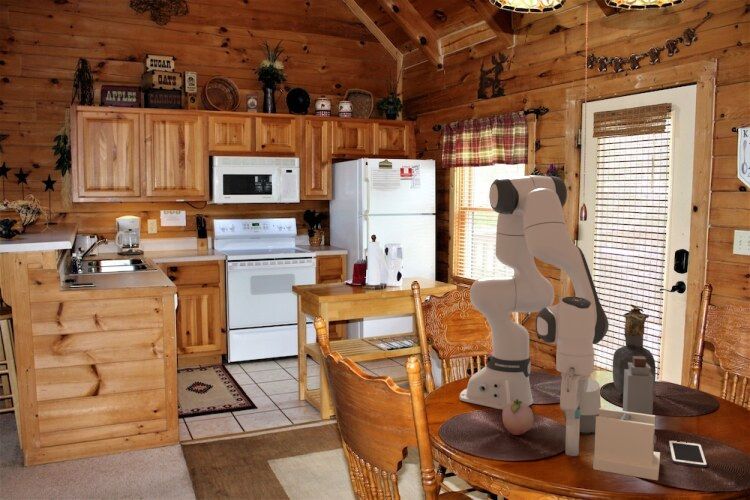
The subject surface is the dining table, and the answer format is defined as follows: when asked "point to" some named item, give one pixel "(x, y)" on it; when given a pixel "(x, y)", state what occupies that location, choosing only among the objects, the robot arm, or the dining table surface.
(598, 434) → the tilted socket
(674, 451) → the cell phone
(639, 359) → the perfume bottle
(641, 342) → the dark decorative bottle
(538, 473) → the dining table surface
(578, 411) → the marker
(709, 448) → the dining table surface
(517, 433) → the decorative fruit
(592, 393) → the smart speaker
